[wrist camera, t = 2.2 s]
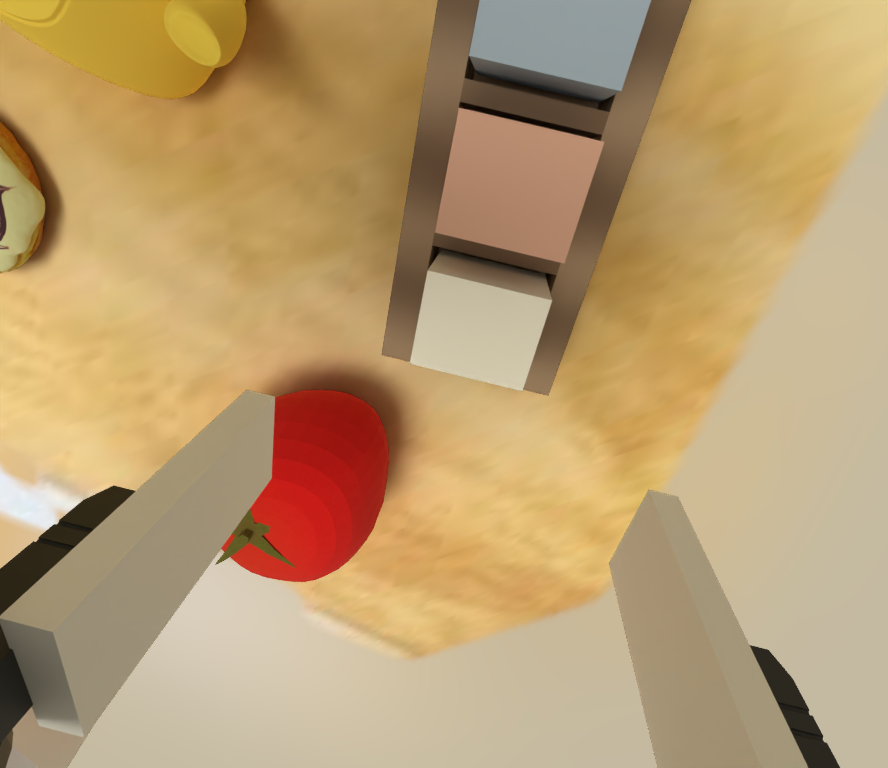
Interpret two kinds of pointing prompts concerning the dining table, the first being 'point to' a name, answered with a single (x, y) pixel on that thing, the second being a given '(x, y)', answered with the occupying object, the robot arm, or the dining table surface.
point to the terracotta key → (516, 185)
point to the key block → (604, 121)
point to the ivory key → (480, 319)
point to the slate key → (558, 43)
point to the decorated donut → (18, 204)
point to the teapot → (135, 38)
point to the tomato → (315, 488)
